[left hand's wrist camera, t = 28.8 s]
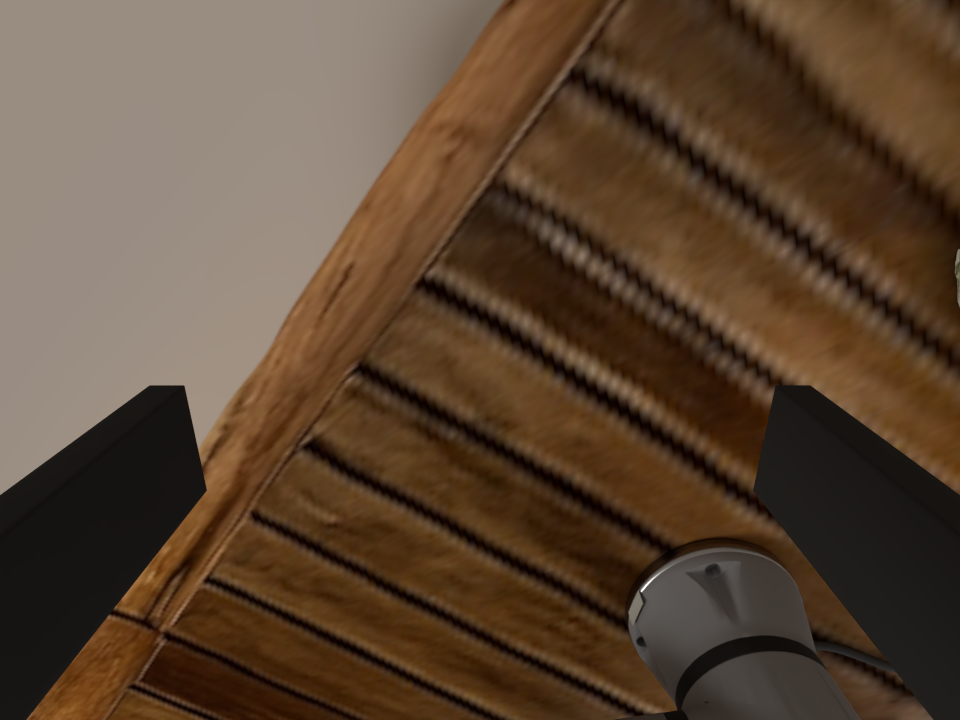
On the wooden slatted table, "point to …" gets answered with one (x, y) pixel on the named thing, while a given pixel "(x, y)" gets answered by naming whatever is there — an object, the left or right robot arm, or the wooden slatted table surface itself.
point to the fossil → (958, 273)
